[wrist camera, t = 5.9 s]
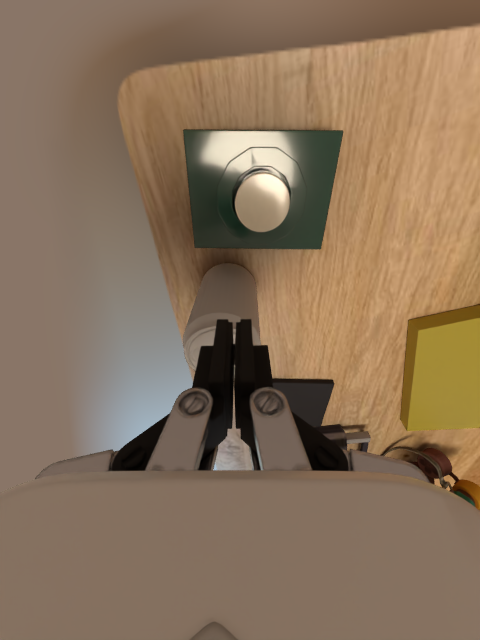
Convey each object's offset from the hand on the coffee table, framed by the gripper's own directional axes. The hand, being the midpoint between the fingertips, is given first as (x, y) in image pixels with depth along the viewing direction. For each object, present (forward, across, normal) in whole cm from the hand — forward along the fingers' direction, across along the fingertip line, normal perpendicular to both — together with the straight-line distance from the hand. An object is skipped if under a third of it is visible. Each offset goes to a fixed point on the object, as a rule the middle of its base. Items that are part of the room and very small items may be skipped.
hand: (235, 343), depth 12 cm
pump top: (+12, -2, -5) cm, 13 cm away
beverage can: (+17, +1, +5) cm, 18 cm away
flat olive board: (+16, -30, +20) cm, 40 cm away
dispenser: (+17, -2, -5) cm, 17 cm away
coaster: (+17, -8, +26) cm, 32 cm away
